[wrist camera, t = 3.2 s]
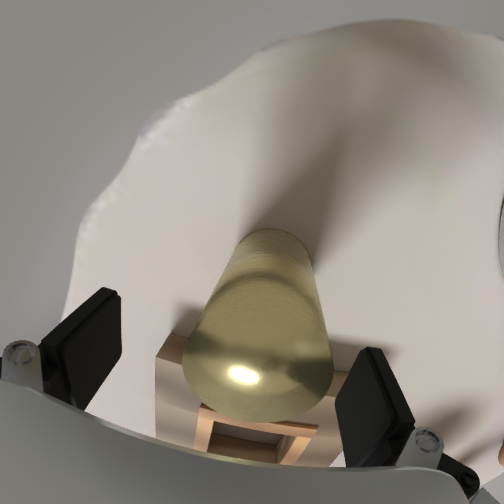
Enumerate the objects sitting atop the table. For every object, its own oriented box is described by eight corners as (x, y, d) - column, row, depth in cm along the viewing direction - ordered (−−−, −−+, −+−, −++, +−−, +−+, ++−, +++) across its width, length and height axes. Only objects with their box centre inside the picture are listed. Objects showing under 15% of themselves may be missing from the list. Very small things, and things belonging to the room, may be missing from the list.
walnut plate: (170, 333, 21) (154, 359, 18) (370, 375, 20) (379, 404, 17) (165, 441, 26) (156, 463, 23) (305, 470, 25) (305, 493, 22)
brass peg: (239, 220, 18) (189, 292, 8) (319, 240, 17) (357, 330, 8) (224, 293, 19) (177, 404, 10) (298, 310, 19) (304, 431, 10)
